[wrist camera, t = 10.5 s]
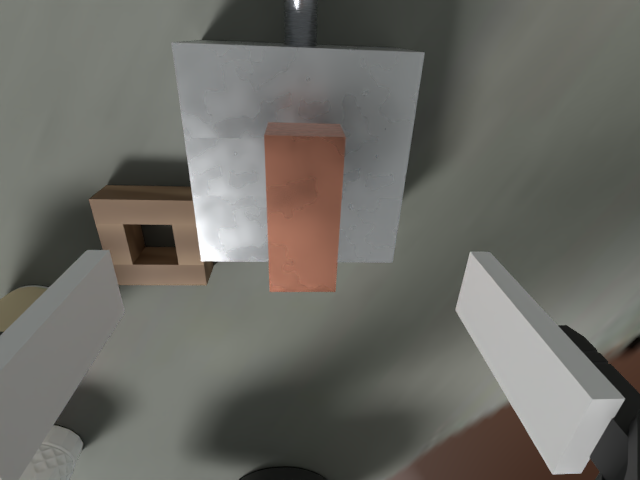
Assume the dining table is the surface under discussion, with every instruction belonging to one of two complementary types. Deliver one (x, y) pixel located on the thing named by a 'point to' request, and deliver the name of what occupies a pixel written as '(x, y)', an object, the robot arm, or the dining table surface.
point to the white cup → (55, 456)
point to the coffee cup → (18, 303)
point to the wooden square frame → (128, 243)
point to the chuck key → (303, 204)
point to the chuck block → (295, 107)
